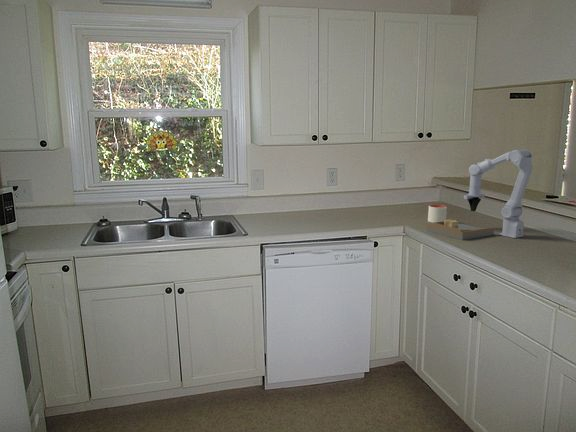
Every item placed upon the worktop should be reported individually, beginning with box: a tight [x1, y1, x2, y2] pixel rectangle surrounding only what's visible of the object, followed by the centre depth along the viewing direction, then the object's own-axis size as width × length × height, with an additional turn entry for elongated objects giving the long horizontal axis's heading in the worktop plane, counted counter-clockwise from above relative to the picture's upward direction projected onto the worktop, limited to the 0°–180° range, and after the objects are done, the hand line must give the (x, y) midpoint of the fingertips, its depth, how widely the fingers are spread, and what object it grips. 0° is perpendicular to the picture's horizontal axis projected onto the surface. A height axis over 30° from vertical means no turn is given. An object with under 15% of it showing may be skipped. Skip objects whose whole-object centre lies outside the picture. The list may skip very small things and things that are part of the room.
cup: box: [427, 204, 448, 223], centre depth 278 cm, size 10×10×10 cm
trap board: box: [425, 218, 495, 241], centre depth 255 cm, size 24×24×5 cm
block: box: [444, 219, 460, 228], centre depth 251 cm, size 5×5×5 cm
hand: (473, 211), depth 265 cm, fingers closed
